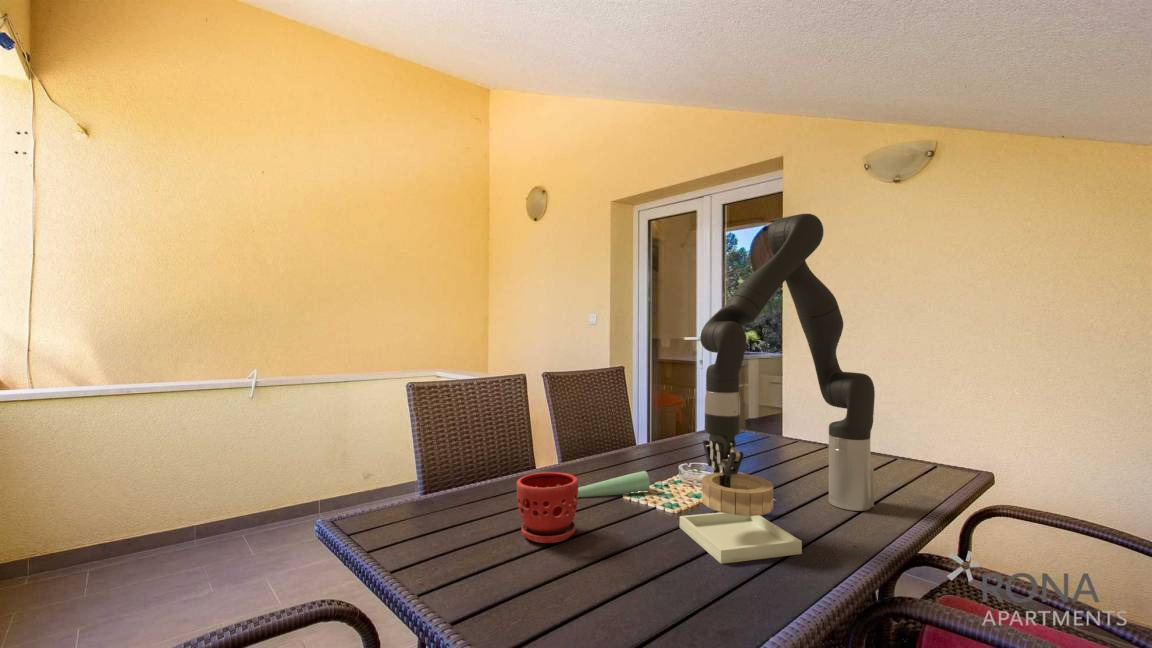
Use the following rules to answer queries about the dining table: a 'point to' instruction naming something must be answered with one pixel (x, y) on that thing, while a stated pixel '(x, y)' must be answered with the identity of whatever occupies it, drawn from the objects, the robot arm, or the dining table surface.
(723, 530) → the tray
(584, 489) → the mint green cone
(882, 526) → the dining table surface
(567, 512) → the plant pot
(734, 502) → the wooden ring
